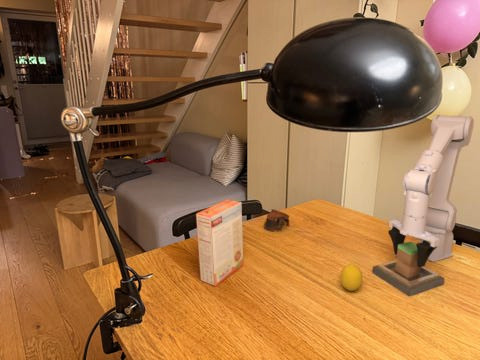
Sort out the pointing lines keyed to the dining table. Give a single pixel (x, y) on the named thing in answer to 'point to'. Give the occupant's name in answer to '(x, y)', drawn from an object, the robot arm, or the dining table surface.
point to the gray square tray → (408, 279)
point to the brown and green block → (407, 260)
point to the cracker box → (220, 241)
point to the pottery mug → (279, 222)
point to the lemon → (351, 277)
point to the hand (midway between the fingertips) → (409, 259)
